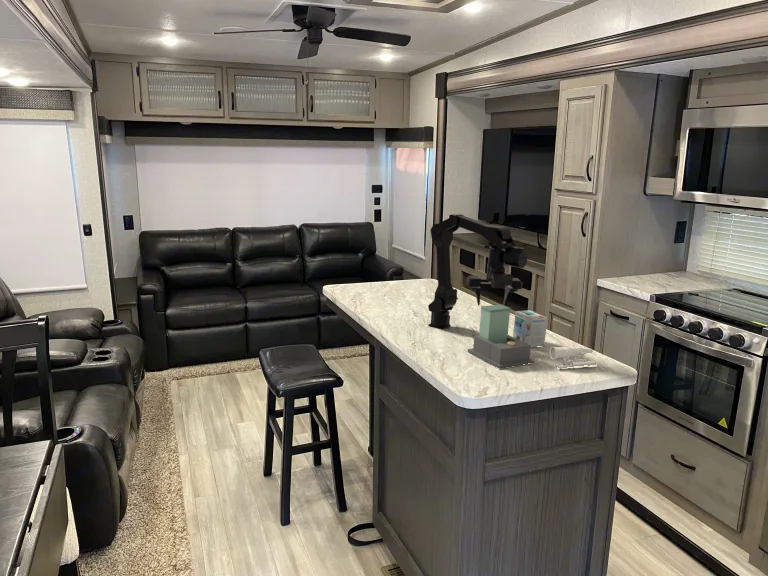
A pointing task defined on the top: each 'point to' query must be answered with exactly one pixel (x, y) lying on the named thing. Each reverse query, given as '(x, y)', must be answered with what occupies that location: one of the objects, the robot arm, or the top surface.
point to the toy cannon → (567, 352)
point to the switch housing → (502, 352)
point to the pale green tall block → (494, 323)
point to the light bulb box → (530, 328)
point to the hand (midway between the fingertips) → (491, 305)
